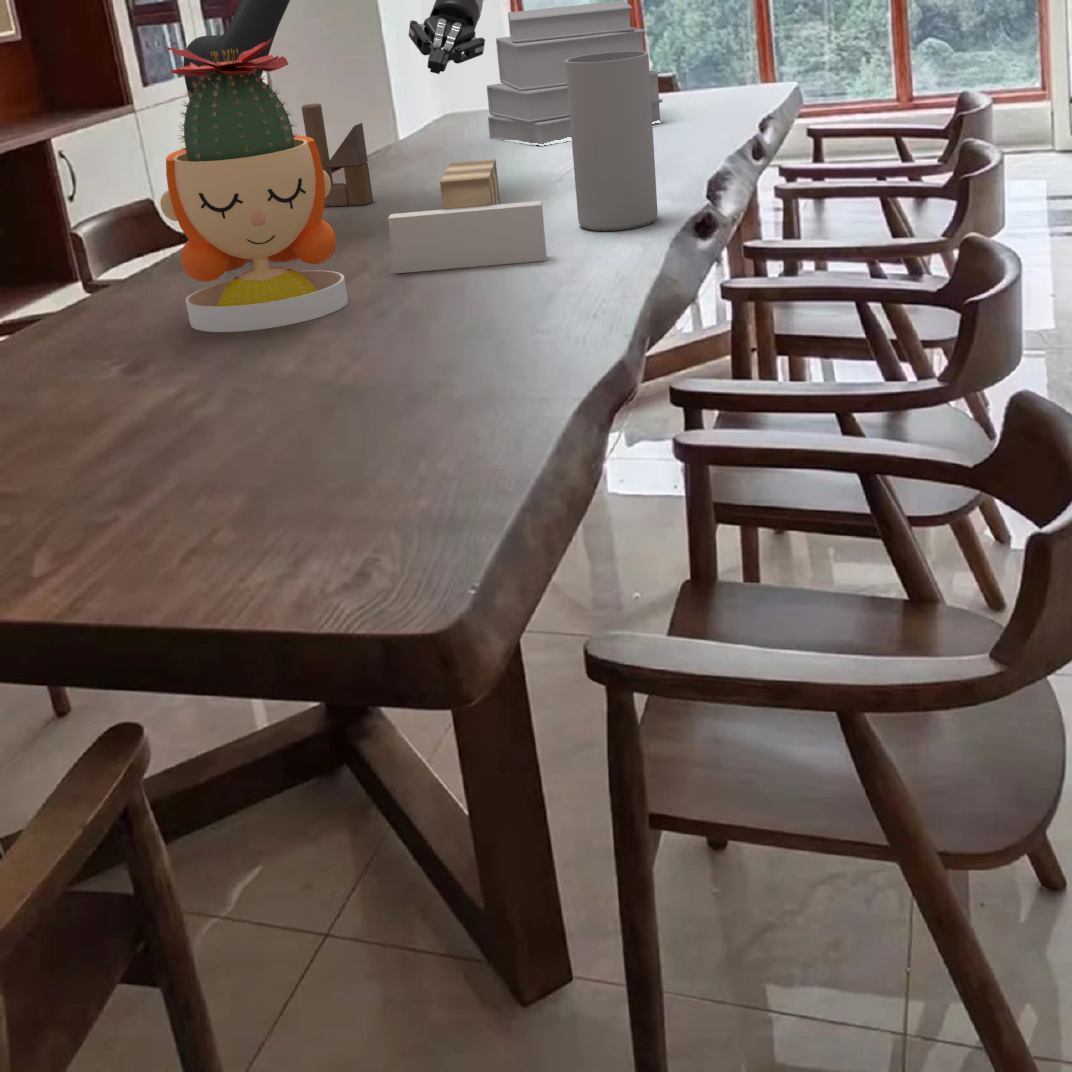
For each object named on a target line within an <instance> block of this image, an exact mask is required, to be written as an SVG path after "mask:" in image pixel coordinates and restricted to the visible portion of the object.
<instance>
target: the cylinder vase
mask: <svg viewBox="0 0 1072 1072" xmlns="http://www.w3.org/2000/svg"><path fill="white" fill-rule="evenodd" d="M649 58H650V57H649V52H648V51H644V50H643V51H621V52H608V53H598V54H591V55H584V56H578V57H574V58H570V59H567V60H565V65H566V77H567V89H568V102H569V114H570V126H571V138H572V141H571V147H572V148H571V149H572V159H573V160H572V161H573V173H574V185H575V197H576V198H575V199H576V206H577V207H576V208H577V209H576V211H577V221H578V224H579V225H580V226H581V228H583V229H586V230H590V231H597V232H610V231H611V232H615V231H626V230H632V229H636V228H642V227H644V226H647V225H650V224H652V223H653V222H654V221H656V220H657V218H658V215H659V213H658V199H657V198H658V197H657V180H656V164H655V150H654V149H655V144H654V131H653V130H654V129H653V126H654V125H652V109H651V92H650V75H649V71H650V62H649V61H650V59H649Z"/></svg>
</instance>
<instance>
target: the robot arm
mask: <svg viewBox="0 0 1072 1072" xmlns="http://www.w3.org/2000/svg"><path fill="white" fill-rule="evenodd" d="M290 2H291V0H240V1H239V5H238V7H237V9H236V11H235V13H234V15H233V17H232V19H231V21H230V22H229V24H228V25H227V26H228V27H227V28H226V29H225V30H224V32H223V34H219V35H218V34H217V35H203V36H198V37H196V38H195V39H193V40H192V41H191V42H190V43H189V44H188V45H187V47H186V49H187V50H188V51H190V52H192V53H193V54H195V55H196V56H198V57H200V58H203V59H206V60H209V61H211V62H215V63H218V61H219V62H224V60H225V62H226V61H232V56H233V62H234V56H235V61H236V60H237V59H238V57H239V55H240V54H241V53H243V52H244V51H248V50H251V49H253V48H254V47H256V46H258V45H259V44H261V43H263V42H267V41H268V40H270V39H271V41H272V42H271V43H270V45H269V46H268V47H267V48H266V49H265V50H264V51H262V52H261V53H260V54H259V55H257V56H255V57H254V58H252V59H250V60H248V61H246V62H249V61H252V60H254V59H257V58H261V57H264V56H268V55H269V54H270V52H271V51H270V50H271V49H272V45H273V43H274V40H275V37H276V35H277V30H278V29H279V25H280V24H281V21H282V19H283V17H284V14H285V13H286V10H287V8H288V6H289V4H290ZM483 3H484V0H435V2H434V4H433V6H432V10H431V12H430V14H429V17H428V18H427V17H426V18H425V19H424V21H423V23H419V22H418V21H417V20H413V19H412V20H410V21H409V28H408V37H409V38H410V40H411V42H413V44H414V46H415V47H416V48H417V49H418V51H419V53H420V54H421V55H423V56H428V59H427V69H430V71H429V72H430V73H431V74H432V73H433V74H437V75H440V73H441V72H442V73H444V72H445V71H446V69H447V66H448V63H449V62H451V61H452V62H453V63H454V64H458V65H459V64H461V63H463V62H464V63H465V62H468V61H469V60H471V59H474V58H478V57H480V56H482V55H483V54H484V51H485V46H486V44H485V43H486V39H485V38H484V37H477V36H476V27H477V24H478V21H479V20H480V18H481V13H482V9H483ZM236 48H237V50H238V53H237V51H236ZM222 49H223V52H224V51H225V53H226V57H225V55H224V54H222ZM231 49H232V53H231ZM228 50H229V60H228V53H227V51H228ZM233 50H234V53H235V54H233ZM211 52H212V55H213V56H211ZM213 52H215V54H216V52H217V53H218V59H216V58H217V55H216V57H215V56H214V53H213ZM223 55H224V57H223ZM212 58H213V59H212ZM215 59H216V60H215ZM213 60H214V61H213ZM217 60H218V61H217ZM216 61H217V62H216ZM190 62H191V63H193V64H195V65H196V66H198V67H200V66H203V65H204V66H208V65H205V64H203V63H200V62H198V61H196V60H194V59H190V58H186V57H183V63H182V64H183V65H182V67H186V66H189V65H190ZM253 69H255V68H253ZM206 72H210V73H208V74H207V75H208V76H209V75H210V74H212V73H213V72H211V71H206ZM253 72H254V71H253ZM253 72H252V73H253ZM263 72H264V71H263V70H260V69H258V70H257V68H256V70H255V72H254V73H255V74H256V75H255V74H254V75H255V76H256V77H258V76H259V75H260V76H263V74H264V73H263ZM214 73H215V72H214ZM183 76H184V81H185V86H186V92H187V91H188V92H190V93H191V95H192V94H193V92H194V91H195V89H196V88H195V86H194V85H195V84H194V83H196V84H197V86H198V85H199V84H200V83H201V82H202V80H201V78H198V77H201V76H186V75H183ZM205 76H206V75H205ZM205 76H203V77H205ZM206 77H207V76H206ZM206 77H205V78H206ZM205 78H203V79H205ZM258 78H259V77H258ZM194 81H195V82H194ZM199 81H200V82H199ZM193 82H194V83H193ZM197 82H198V83H199V84H198V83H197ZM192 84H193V85H192ZM192 86H193V87H192ZM187 89H188V90H187ZM193 89H194V90H193ZM189 90H190V91H189ZM188 92H187V93H188ZM188 94H189V93H188ZM188 94H187V97H188V101H189V100H190V98H191V97H189V95H188Z"/></svg>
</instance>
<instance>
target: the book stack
mask: <svg viewBox="0 0 1072 1072" xmlns="http://www.w3.org/2000/svg"><path fill="white" fill-rule="evenodd" d="M630 9H633V7H632V5H630V4H628V2H627V1H625V0H616V1H615V0H614V1H607V2H594V3H587V4H576V5H568V6H567V5H566V6H560V7H559V6H558V7H556V6H555V7H549V8H539V9H529V10H527V9H526V10H520V11H519V10H518V11H510V12H507V18H508V26H509V27H508V28H509V36H504V37H497V38H495V44H496V52H497V53H496V54H497V63H498V64H497V65H498V71H499V72H498V74H499V80H500V81H499V82H500V83H494V84H488V85H486V92H487V93H486V94H487V103H488V112H489V116H488V117H487V122H488V124H487V125H488V131H489V138H490V139H491V138H493V139H499V140H498V141H500V139H501V140H519V141H523V142H529V143H538V144H544V143H547V142H551V141H554V140H561V139H564V138H567V137H571V126H570V114H569V102H568V89H567V77H566V65H565V60H567V59H570V58H574V57H578V56H584V55H591V54H598V53H608V52H621V51H644V40H643V32H646V29H642V28H638V27H634V26H631V14H630V13H631V12H630ZM660 74H661V75H662V73H661V72H660V71H655V70H649V75H650V92H651V109H652V122H654V121H657V120H660V121H661V115H660V114H661V113H660V112H661V111H660V104H661V103H663V102H664V99H661V98H660V94H659V92H660V91H659V79H658V78H659V76H658V75H660ZM493 139H492V140H493Z"/></svg>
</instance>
